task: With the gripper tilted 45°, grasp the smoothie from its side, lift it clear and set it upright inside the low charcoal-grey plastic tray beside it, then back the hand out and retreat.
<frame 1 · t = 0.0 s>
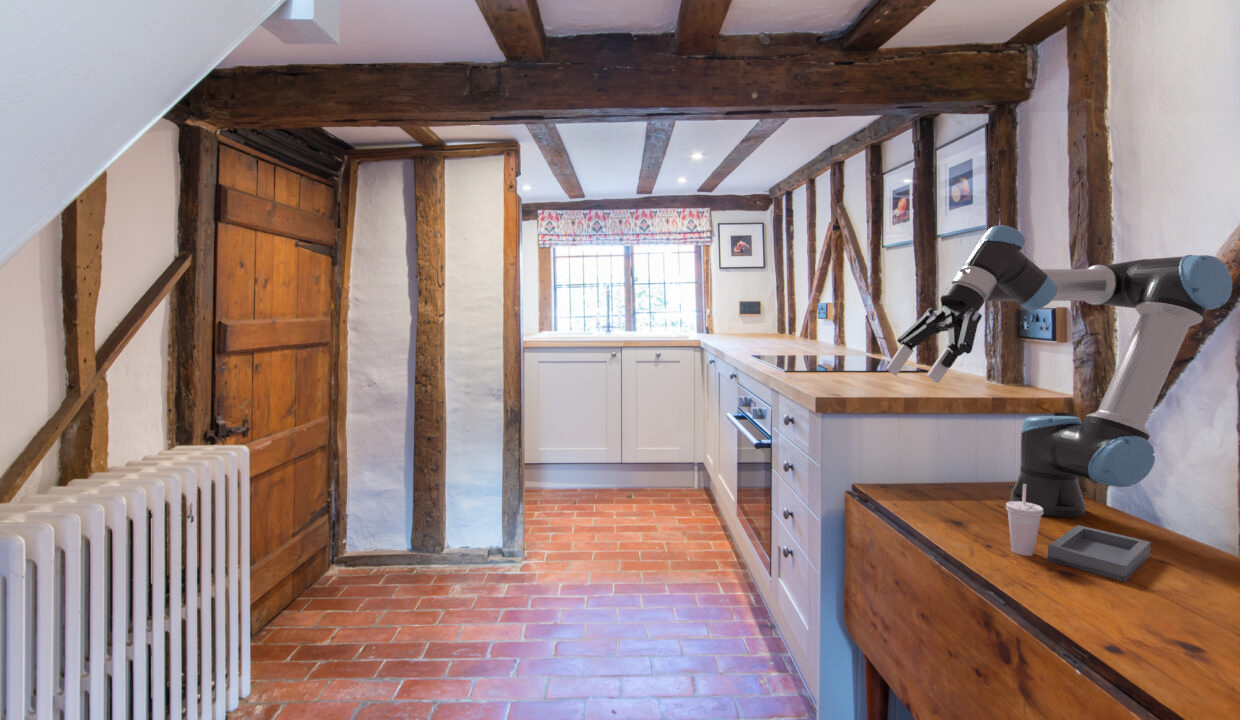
hand: (910, 375, 125), 36 cm above the table, tool tilted 35°, fingers open, 13 cm apart
smoothie: (1022, 553, 122), on the table
tray: (1098, 558, 119), on the table
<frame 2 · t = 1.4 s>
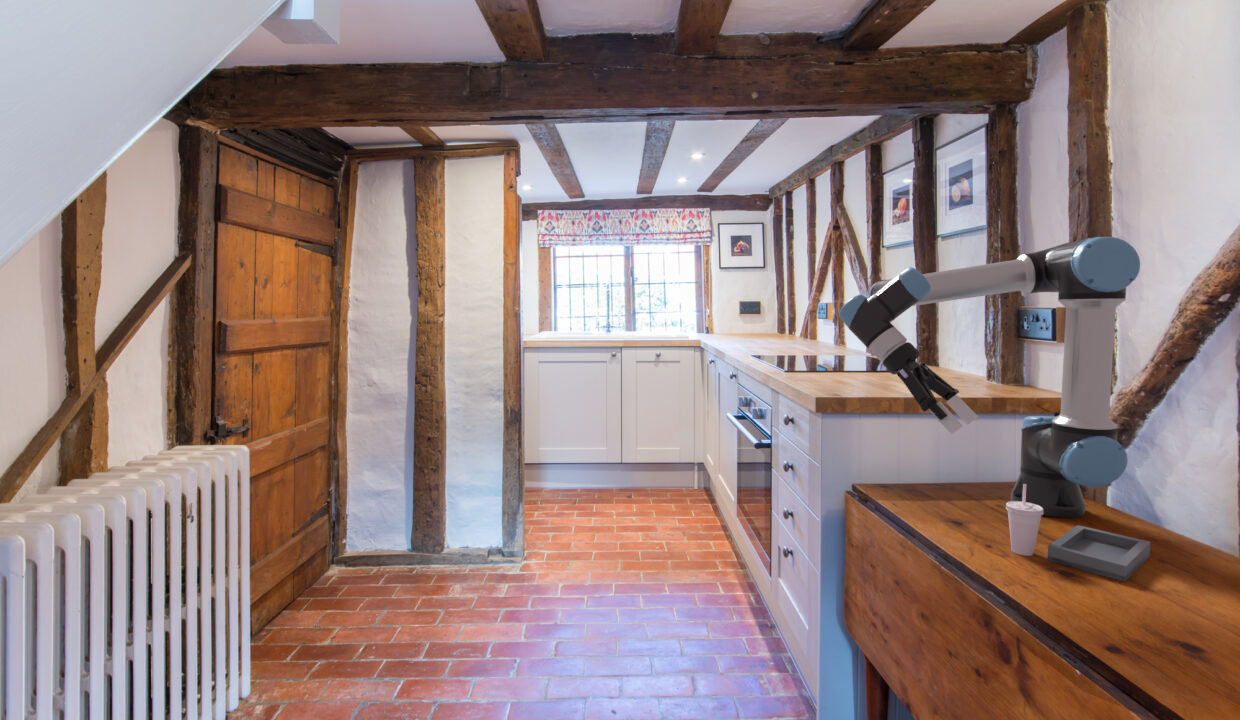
hand: (965, 425, 127), 25 cm above the table, tool tilted 45°, fingers open, 13 cm apart
nothing on the table moved.
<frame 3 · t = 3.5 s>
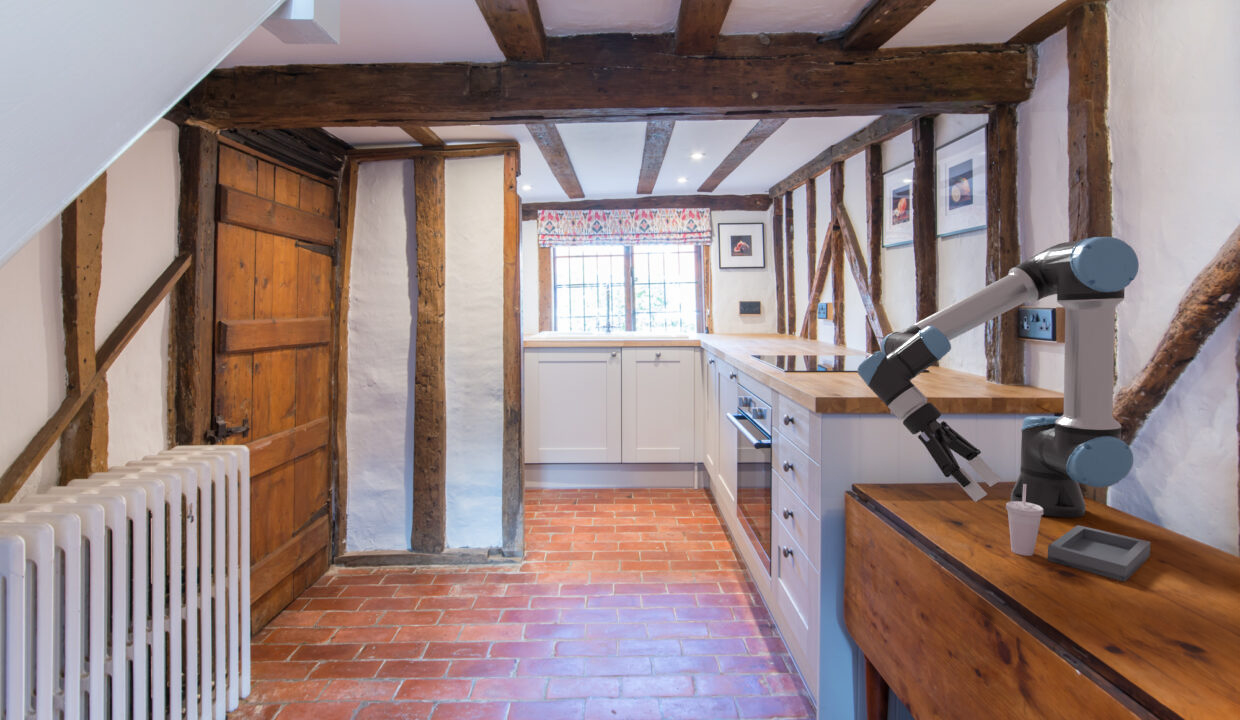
hand: (989, 490, 125), 12 cm above the table, tool tilted 45°, fingers open, 13 cm apart
nothing on the table moved.
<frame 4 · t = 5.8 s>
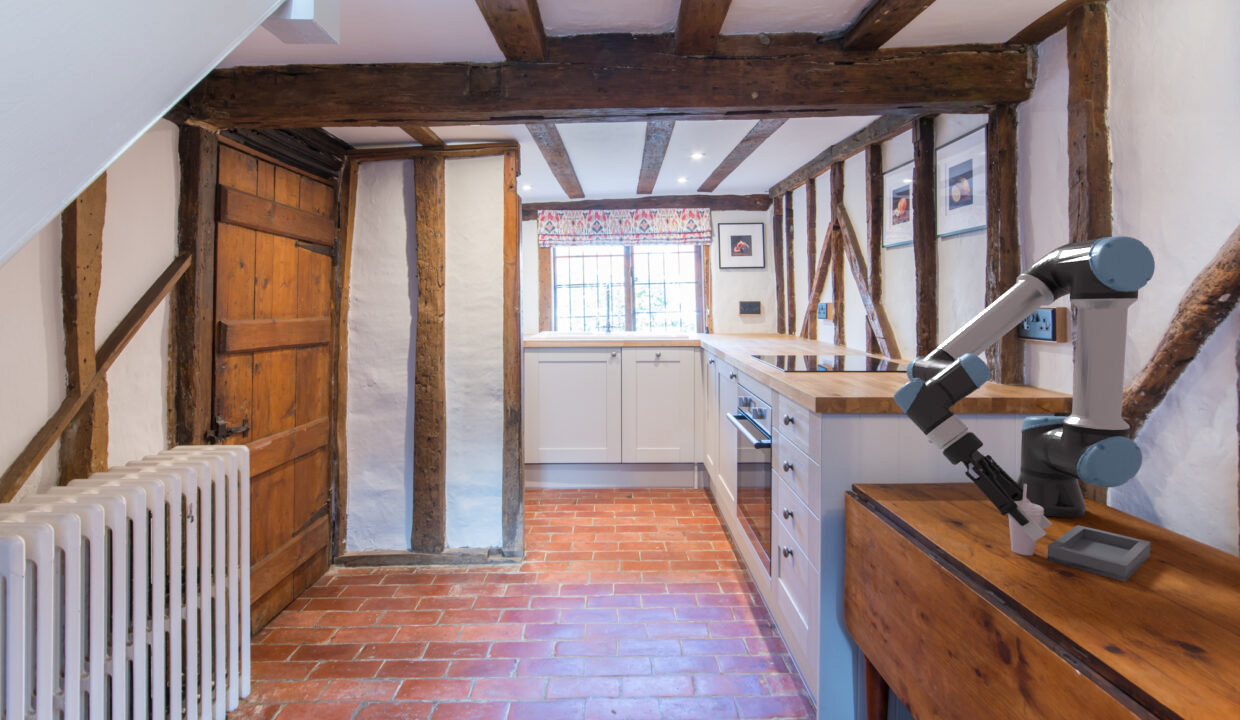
hand: (1042, 532, 120), 5 cm above the table, tool tilted 45°, fingers closed on smoothie, 6 cm apart
smoothie: (1022, 552, 122), on the table, touching gripper
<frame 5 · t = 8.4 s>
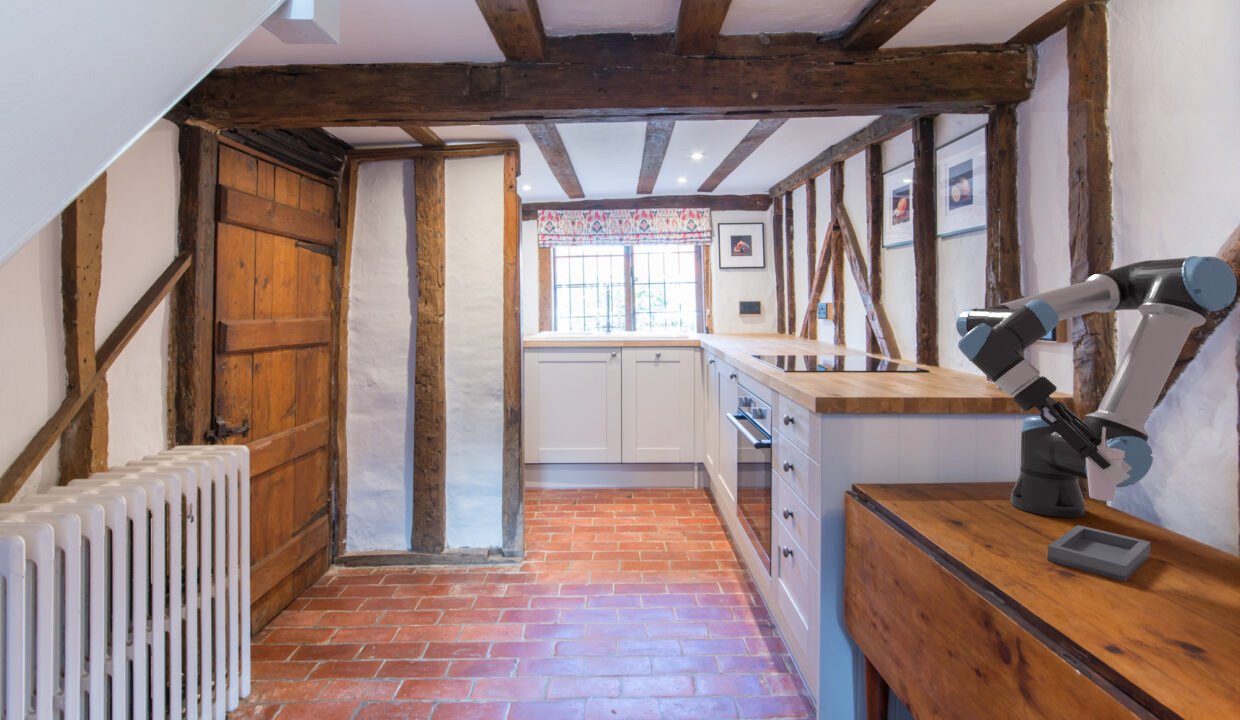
hand: (1124, 476, 115), 17 cm above the table, tool tilted 45°, fingers closed on smoothie, 6 cm apart
smoothie: (1101, 499, 117), point 12 cm above the table, touching gripper
when the fingers open (7 cm above the table, at t = 10.7 s): smoothie drops 1 cm, resting on tray.
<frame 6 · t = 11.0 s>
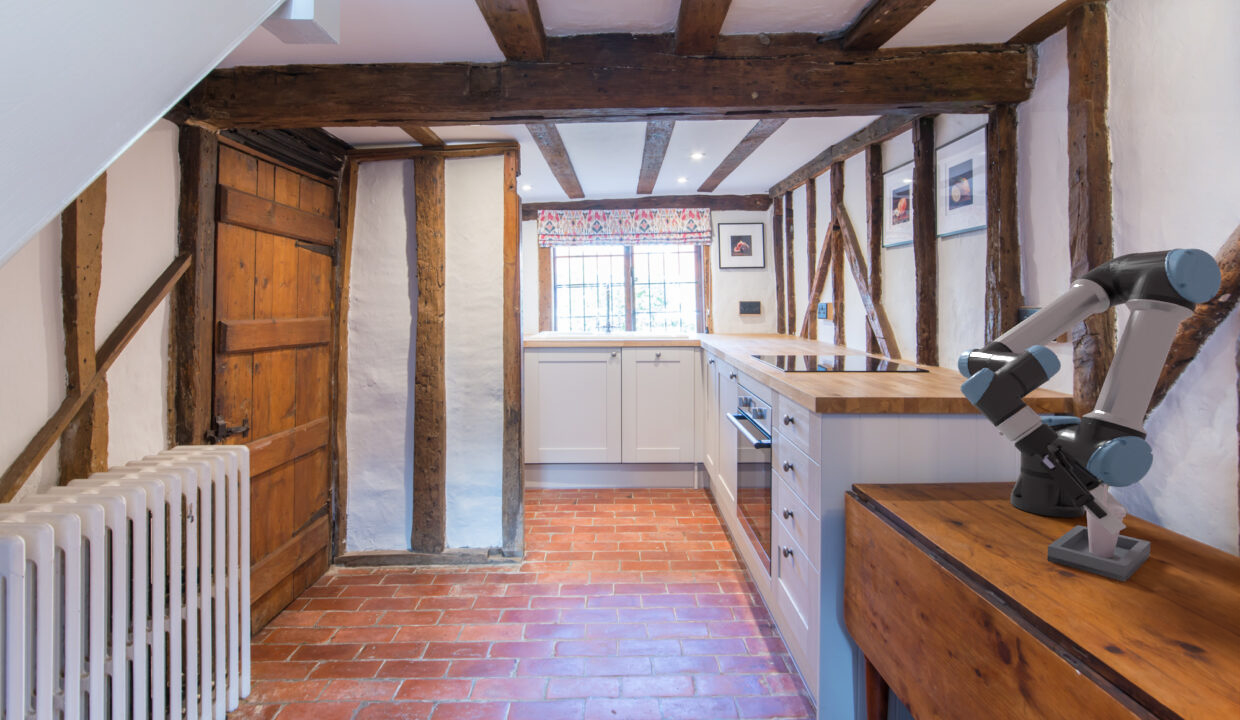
hand: (1120, 522, 116), 8 cm above the table, tool tilted 45°, fingers open, 10 cm apart
smoothie: (1101, 554, 118), point 1 cm above the table, touching tray
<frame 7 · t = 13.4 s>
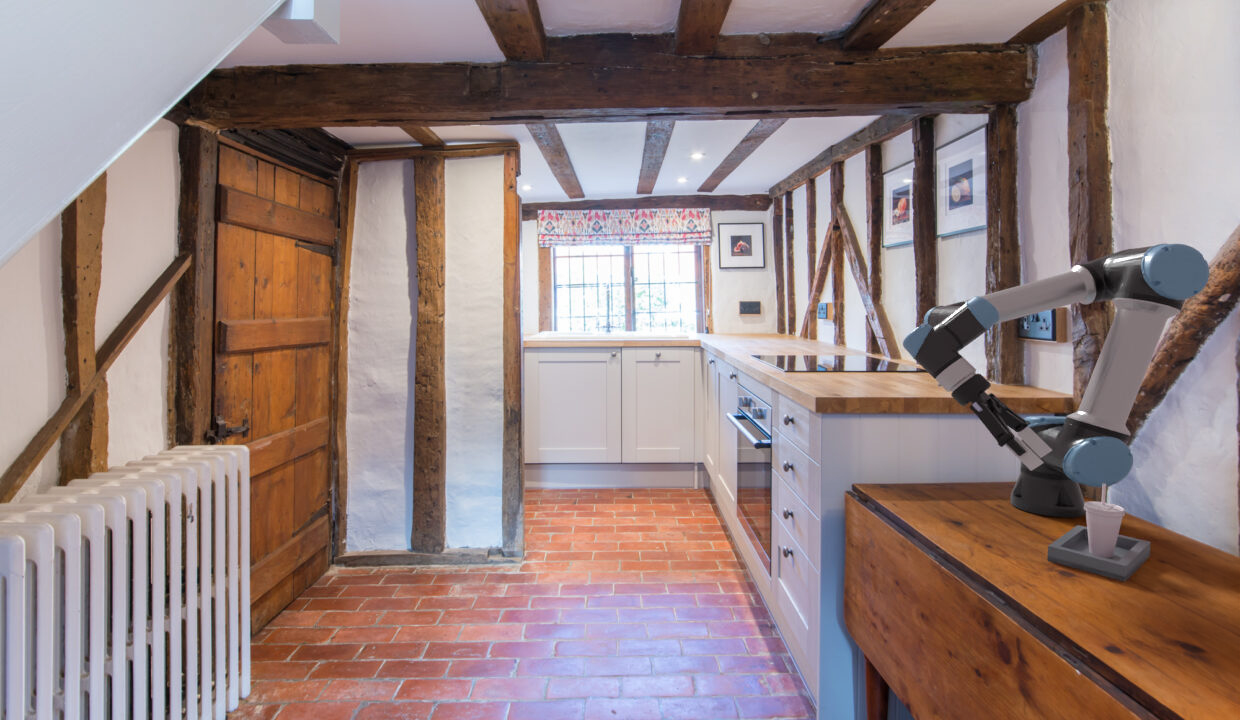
hand: (1042, 460, 124), 18 cm above the table, tool tilted 45°, fingers open, 13 cm apart
nothing on the table moved.
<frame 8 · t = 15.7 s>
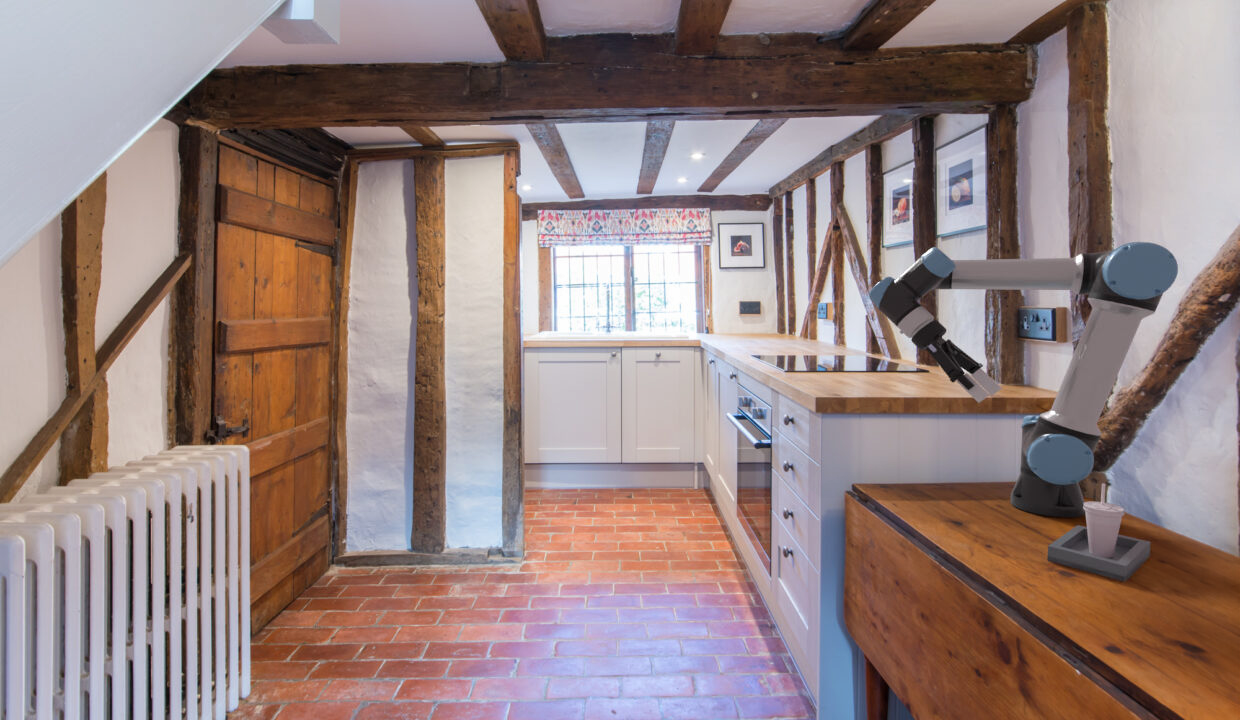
hand: (990, 395, 137), 30 cm above the table, tool tilted 45°, fingers open, 13 cm apart
nothing on the table moved.
at the end: smoothie inside the target area on the tray (0.3 cm from its centre), point 0.8 cm above the tray's base; smoothie tilted 0°; the gripper is holding nothing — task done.
